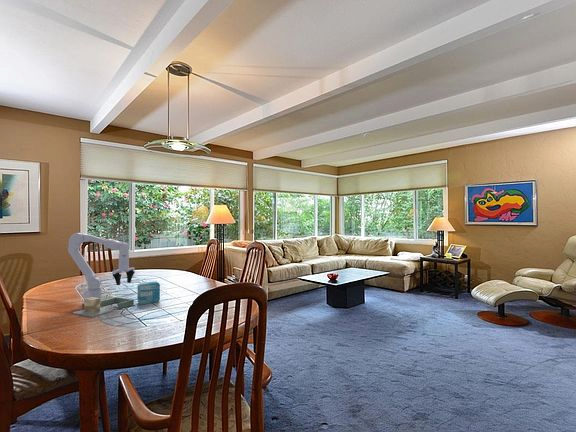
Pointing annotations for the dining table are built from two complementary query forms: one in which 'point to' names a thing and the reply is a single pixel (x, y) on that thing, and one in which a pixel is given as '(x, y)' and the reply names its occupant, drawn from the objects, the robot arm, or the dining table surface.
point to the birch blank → (92, 304)
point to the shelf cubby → (121, 302)
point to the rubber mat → (82, 312)
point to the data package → (148, 292)
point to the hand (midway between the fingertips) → (123, 283)
